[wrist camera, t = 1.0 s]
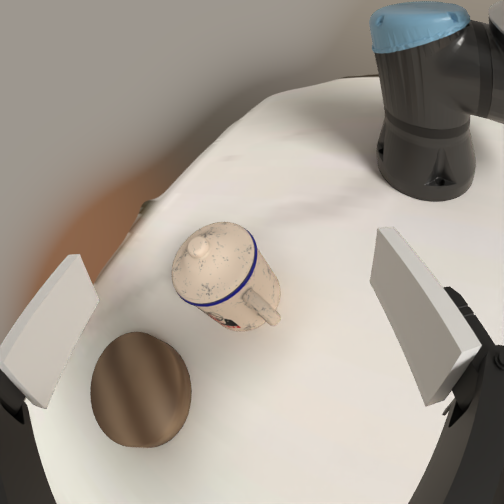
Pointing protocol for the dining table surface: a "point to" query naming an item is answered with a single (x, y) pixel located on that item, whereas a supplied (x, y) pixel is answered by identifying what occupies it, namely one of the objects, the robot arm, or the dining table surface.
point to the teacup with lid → (227, 277)
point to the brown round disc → (140, 391)
